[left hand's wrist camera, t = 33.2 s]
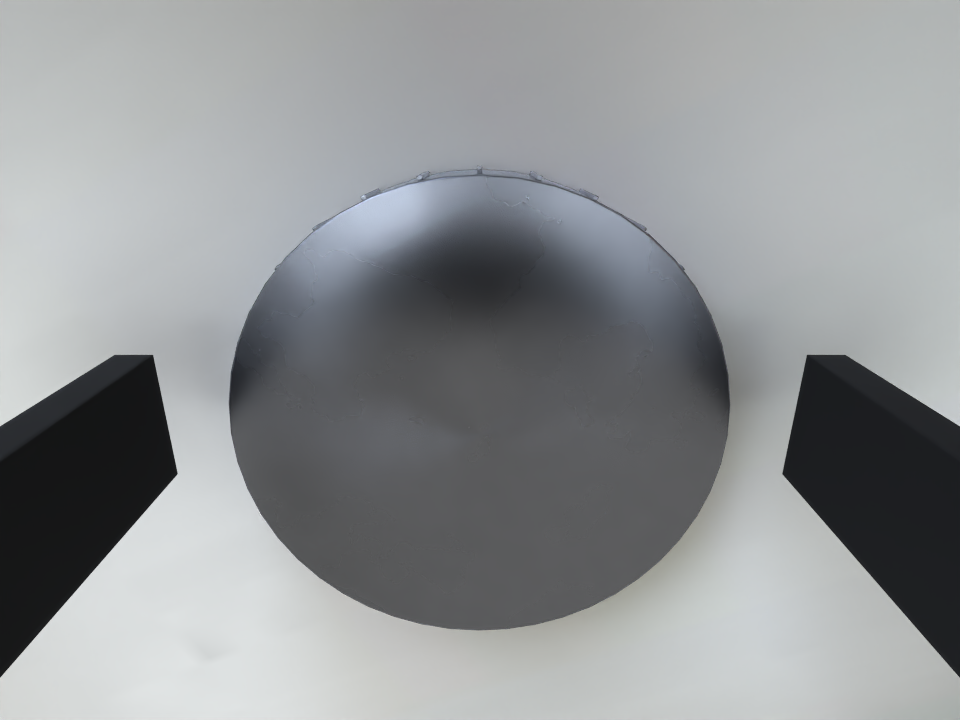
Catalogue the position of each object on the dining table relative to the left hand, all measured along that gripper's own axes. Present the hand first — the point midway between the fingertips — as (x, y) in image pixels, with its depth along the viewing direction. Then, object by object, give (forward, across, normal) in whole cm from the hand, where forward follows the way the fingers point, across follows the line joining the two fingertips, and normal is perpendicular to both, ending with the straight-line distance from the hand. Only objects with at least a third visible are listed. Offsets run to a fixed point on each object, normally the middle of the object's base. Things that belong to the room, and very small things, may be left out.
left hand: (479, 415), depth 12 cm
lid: (+1, 0, -1) cm, 1 cm away
